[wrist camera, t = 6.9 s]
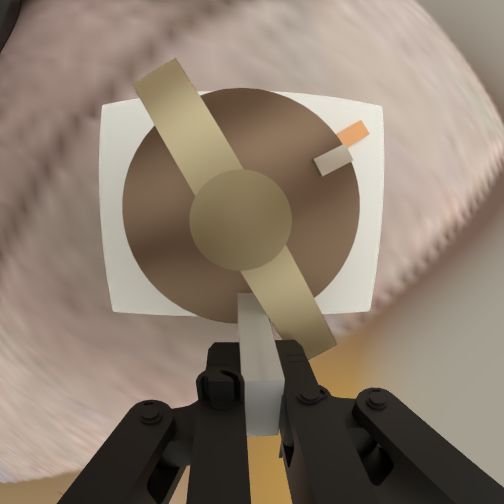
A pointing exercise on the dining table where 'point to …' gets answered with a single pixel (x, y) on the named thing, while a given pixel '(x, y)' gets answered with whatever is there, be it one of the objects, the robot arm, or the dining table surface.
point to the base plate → (327, 108)
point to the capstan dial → (240, 203)
